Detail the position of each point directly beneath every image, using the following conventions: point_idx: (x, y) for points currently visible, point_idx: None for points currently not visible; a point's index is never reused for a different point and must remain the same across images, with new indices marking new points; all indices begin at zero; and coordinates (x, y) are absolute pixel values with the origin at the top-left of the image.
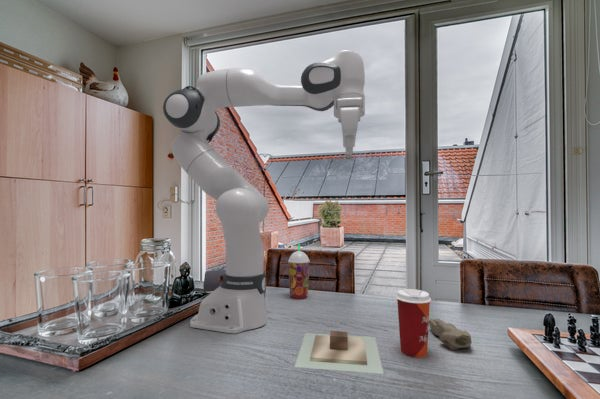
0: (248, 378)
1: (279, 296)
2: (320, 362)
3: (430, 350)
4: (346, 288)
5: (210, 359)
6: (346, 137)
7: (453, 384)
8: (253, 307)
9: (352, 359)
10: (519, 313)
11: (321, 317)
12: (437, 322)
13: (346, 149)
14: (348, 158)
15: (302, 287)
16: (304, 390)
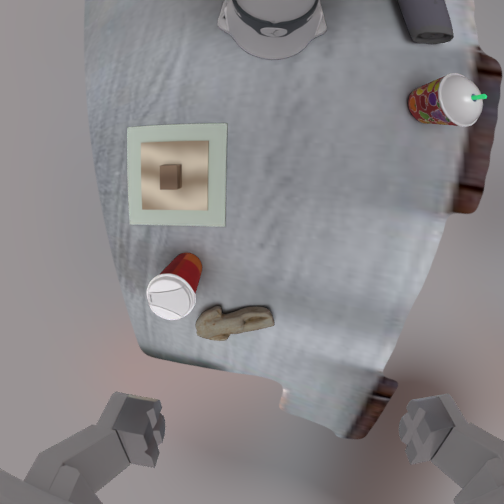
0: (108, 87)
1: (419, 69)
2: (140, 155)
3: (201, 287)
4: (474, 206)
5: (142, 31)
6: (32, 478)
7: (132, 285)
8: (243, 32)
9: (143, 193)
10: (334, 414)
11: (309, 145)
12: (262, 319)
13: (104, 414)
14: (409, 414)
15: (417, 110)
16: (95, 146)
